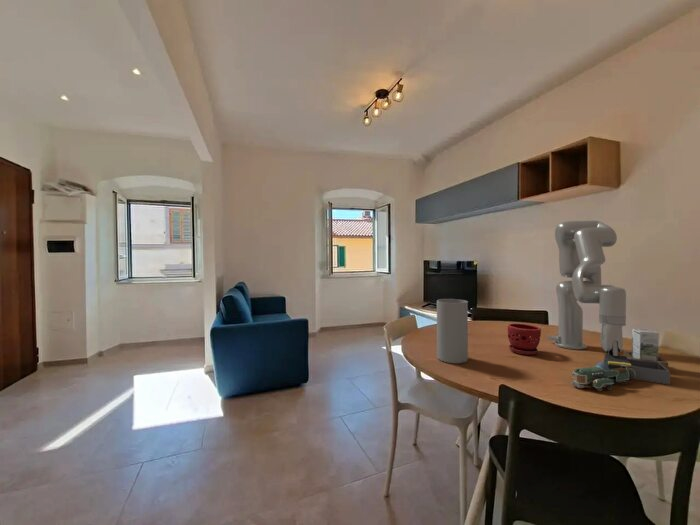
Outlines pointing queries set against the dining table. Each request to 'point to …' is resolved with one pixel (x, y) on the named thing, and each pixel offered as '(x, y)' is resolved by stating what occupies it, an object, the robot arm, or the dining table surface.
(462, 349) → the cylinder vase
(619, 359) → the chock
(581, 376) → the green toy hover car
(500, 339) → the dining table surface
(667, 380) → the tray
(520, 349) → the plant pot
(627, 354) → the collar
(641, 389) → the dining table surface
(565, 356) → the dining table surface
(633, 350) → the syrup box
